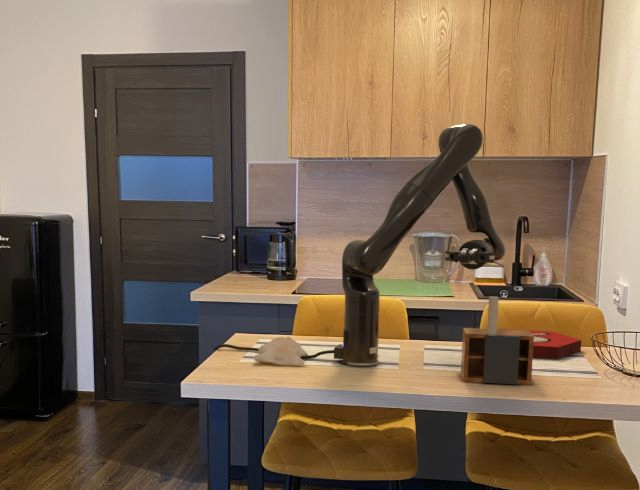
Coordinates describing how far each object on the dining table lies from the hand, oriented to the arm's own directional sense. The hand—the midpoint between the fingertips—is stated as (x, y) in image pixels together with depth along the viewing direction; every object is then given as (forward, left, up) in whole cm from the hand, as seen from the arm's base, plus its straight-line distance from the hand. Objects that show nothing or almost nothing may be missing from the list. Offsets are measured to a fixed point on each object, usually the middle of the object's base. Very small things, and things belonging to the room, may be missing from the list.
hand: (462, 258), depth 179 cm
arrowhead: (-47, +19, -30) cm, 59 cm away
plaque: (+23, +43, -30) cm, 57 cm away
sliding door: (+10, -3, -30) cm, 31 cm away
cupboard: (+9, +2, -30) cm, 31 cm away
